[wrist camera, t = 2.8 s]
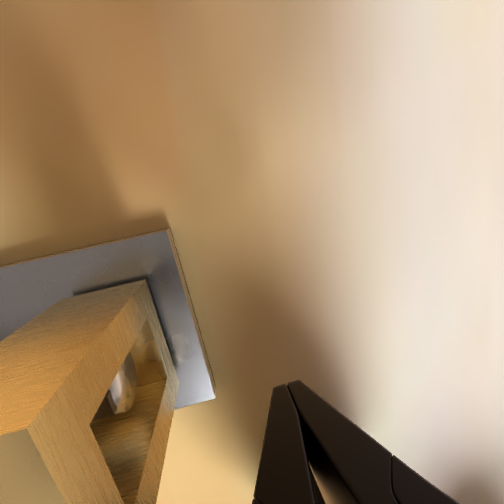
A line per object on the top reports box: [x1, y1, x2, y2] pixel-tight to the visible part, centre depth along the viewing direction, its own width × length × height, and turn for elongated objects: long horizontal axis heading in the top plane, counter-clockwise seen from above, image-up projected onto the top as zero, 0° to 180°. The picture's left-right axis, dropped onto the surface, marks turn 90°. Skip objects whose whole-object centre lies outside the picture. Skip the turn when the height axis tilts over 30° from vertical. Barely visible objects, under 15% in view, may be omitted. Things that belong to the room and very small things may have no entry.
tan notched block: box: [0, 279, 179, 504], centre depth 10 cm, size 4×6×8 cm, turn 12°
